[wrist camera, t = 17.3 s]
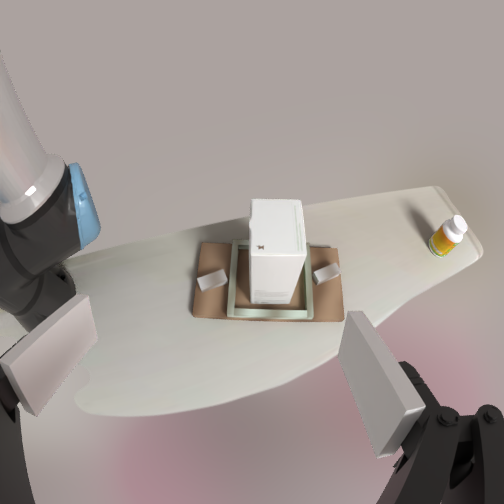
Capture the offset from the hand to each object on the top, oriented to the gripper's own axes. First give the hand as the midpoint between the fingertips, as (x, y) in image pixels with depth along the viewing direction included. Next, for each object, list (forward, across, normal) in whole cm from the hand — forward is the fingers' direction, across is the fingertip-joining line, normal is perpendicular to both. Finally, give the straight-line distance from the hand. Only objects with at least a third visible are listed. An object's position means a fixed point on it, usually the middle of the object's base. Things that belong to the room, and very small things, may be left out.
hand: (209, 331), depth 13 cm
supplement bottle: (+38, +42, -4) cm, 57 cm away
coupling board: (+32, +5, -10) cm, 34 cm away
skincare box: (+31, +5, -9) cm, 32 cm away
